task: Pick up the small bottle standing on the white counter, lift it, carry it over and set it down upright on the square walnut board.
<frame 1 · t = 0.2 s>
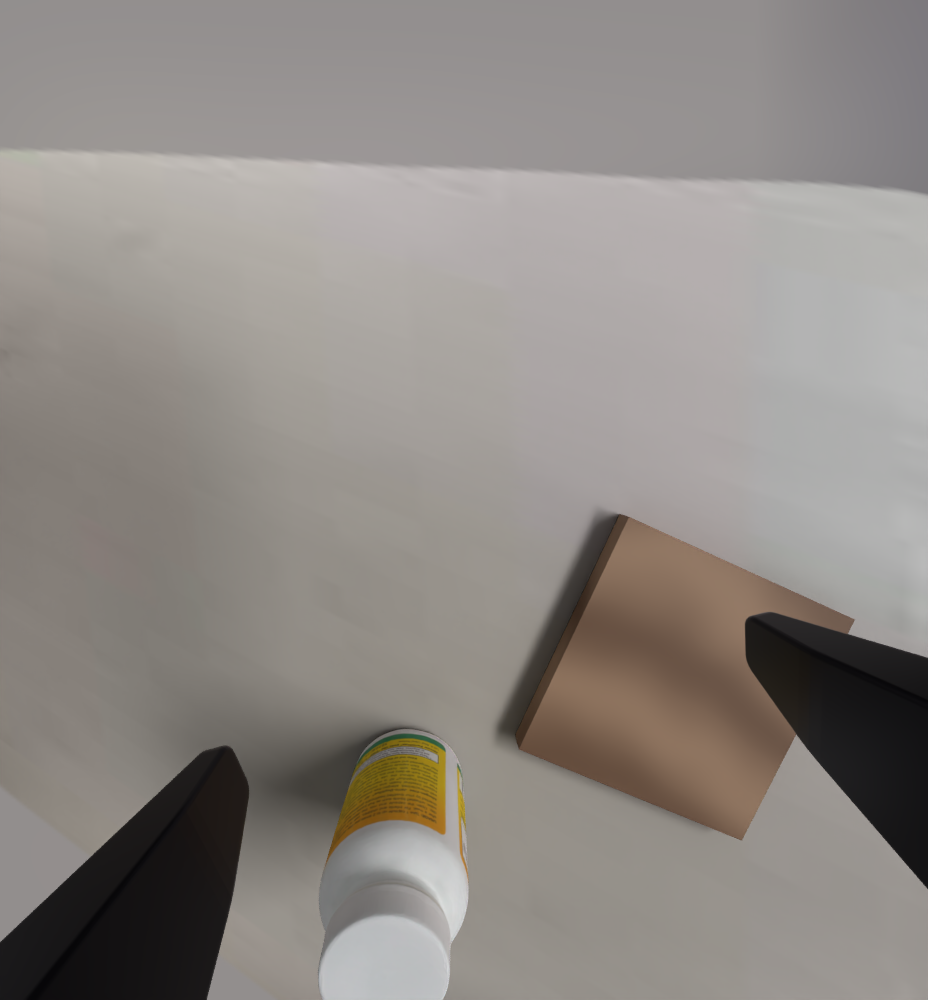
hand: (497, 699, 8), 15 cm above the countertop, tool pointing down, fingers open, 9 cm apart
walnut board: (675, 673, 25), on the countertop
supplement bottle: (408, 773, 25), on the countertop
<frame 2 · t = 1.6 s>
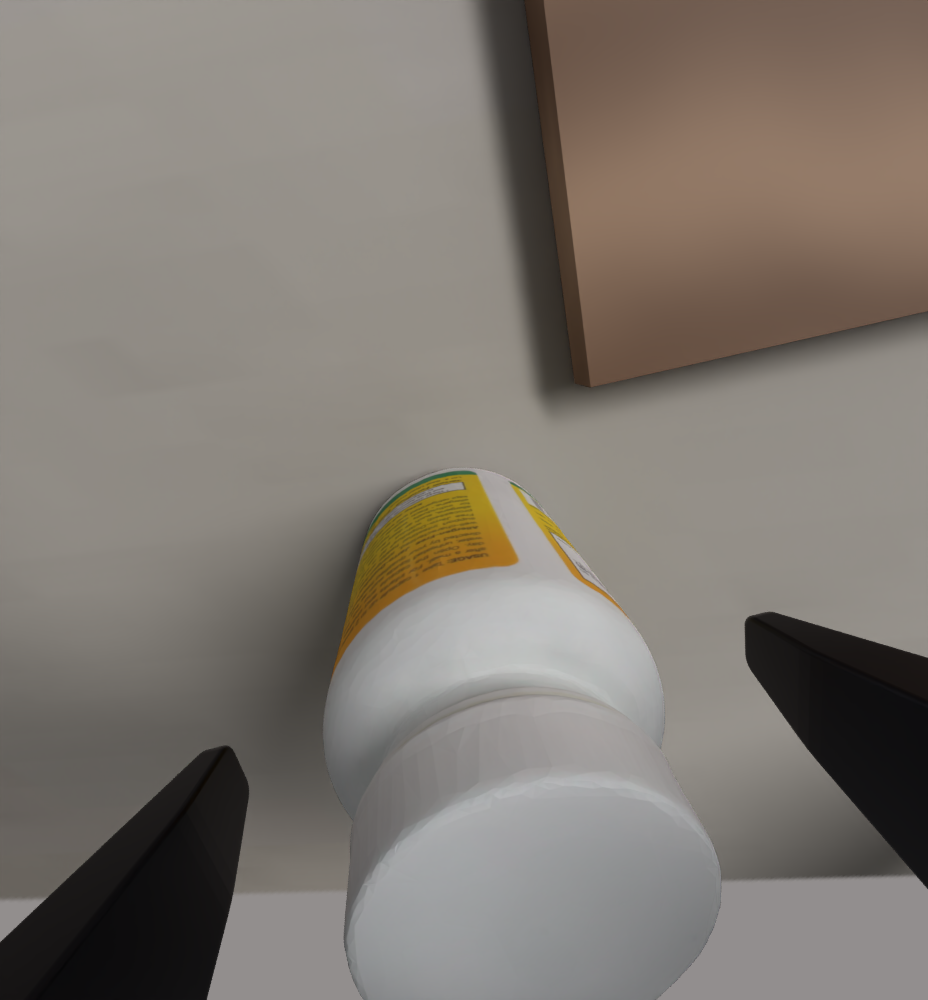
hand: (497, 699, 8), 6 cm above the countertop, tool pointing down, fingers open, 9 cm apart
walnut board: (794, 62, 11), on the countertop
supplement bottle: (456, 551, 14), on the countertop
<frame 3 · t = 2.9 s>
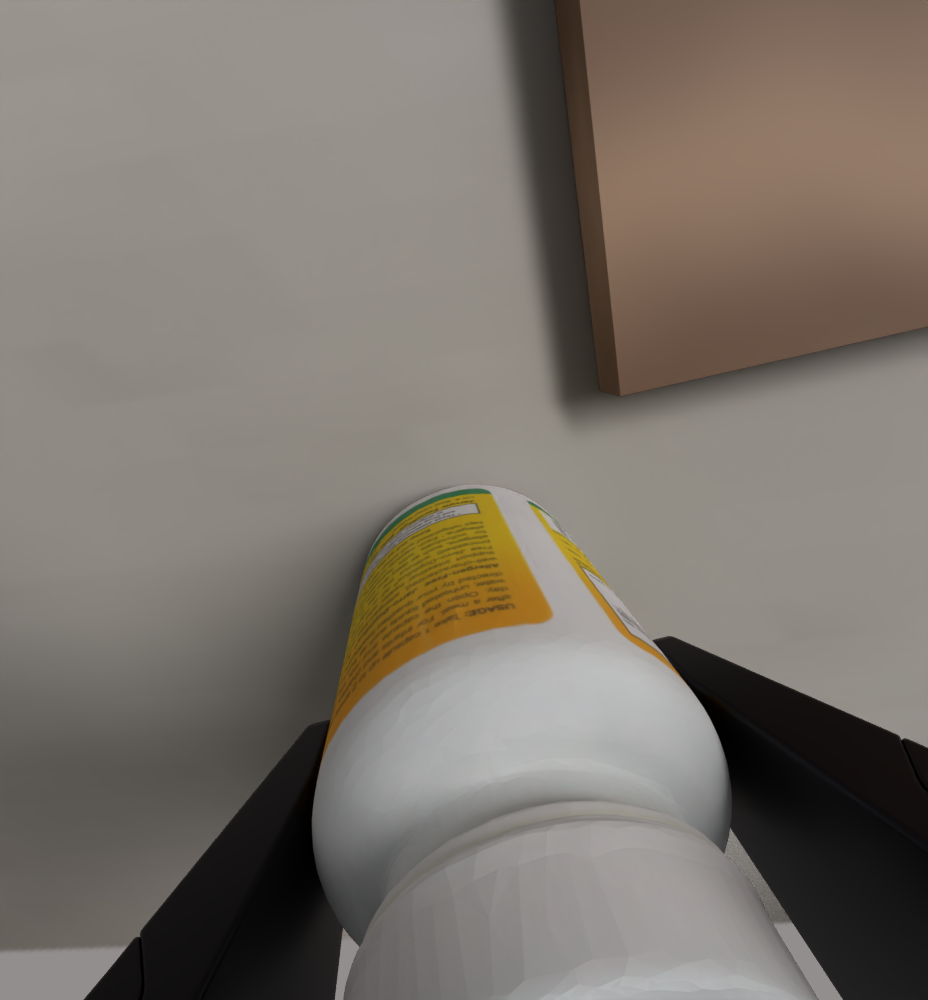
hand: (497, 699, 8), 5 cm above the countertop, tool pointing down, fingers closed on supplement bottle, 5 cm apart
walnut board: (854, 26, 10), on the countertop
supplement bottle: (466, 575, 13), on the countertop, touching gripper
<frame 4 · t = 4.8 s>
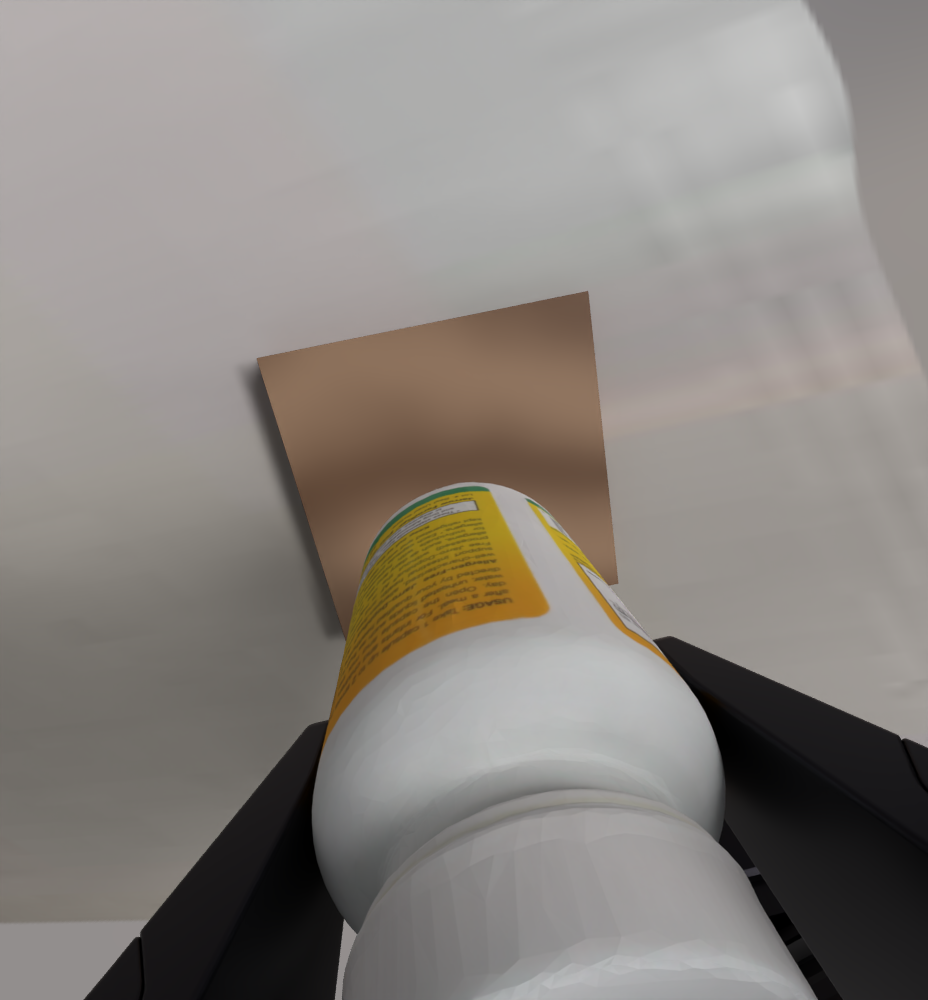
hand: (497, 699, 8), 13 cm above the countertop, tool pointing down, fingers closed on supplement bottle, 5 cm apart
walnut board: (454, 475, 21), on the countertop
supplement bottle: (465, 572, 13), point 8 cm above the countertop, touching gripper
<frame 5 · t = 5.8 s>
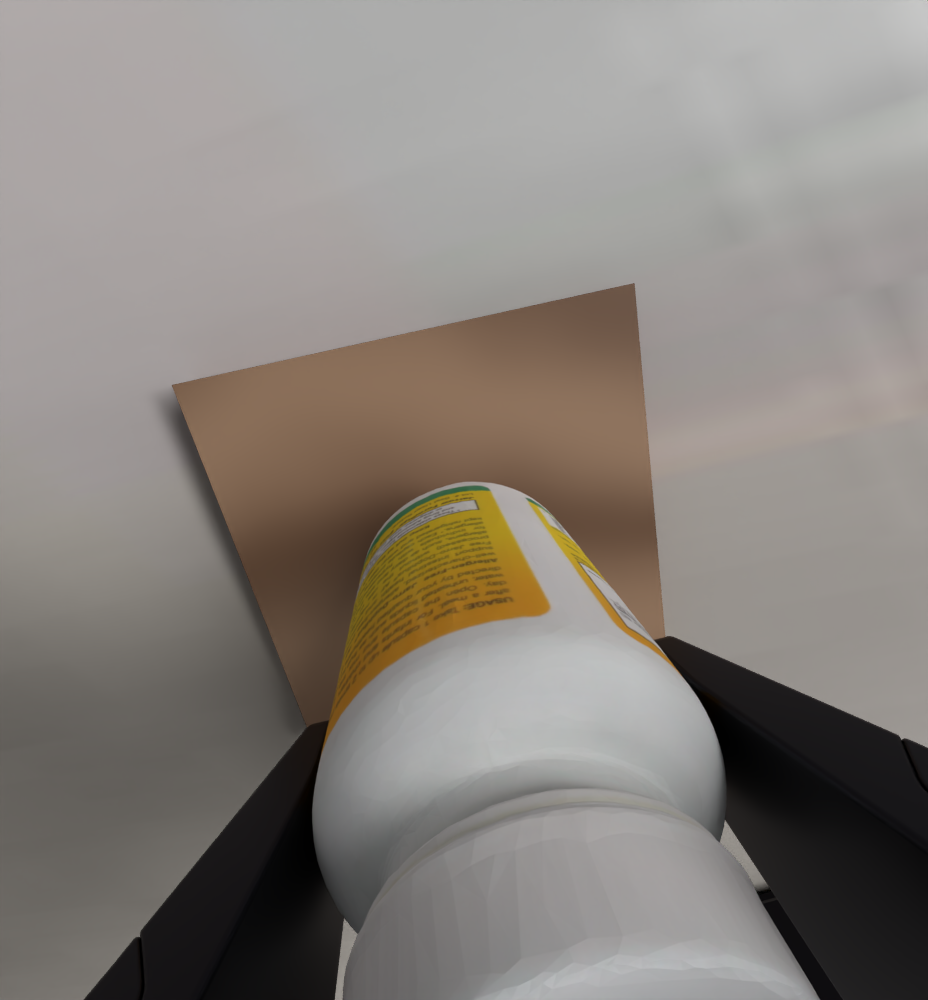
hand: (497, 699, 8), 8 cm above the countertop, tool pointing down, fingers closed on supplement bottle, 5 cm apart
walnut board: (453, 529, 16), on the countertop
supplement bottle: (465, 572, 13), point 3 cm above the countertop, touching gripper
when the fingers open (7 cm above the countertop, at t = 6.7 s): supplement bottle drops 1 cm, resting on walnut board.
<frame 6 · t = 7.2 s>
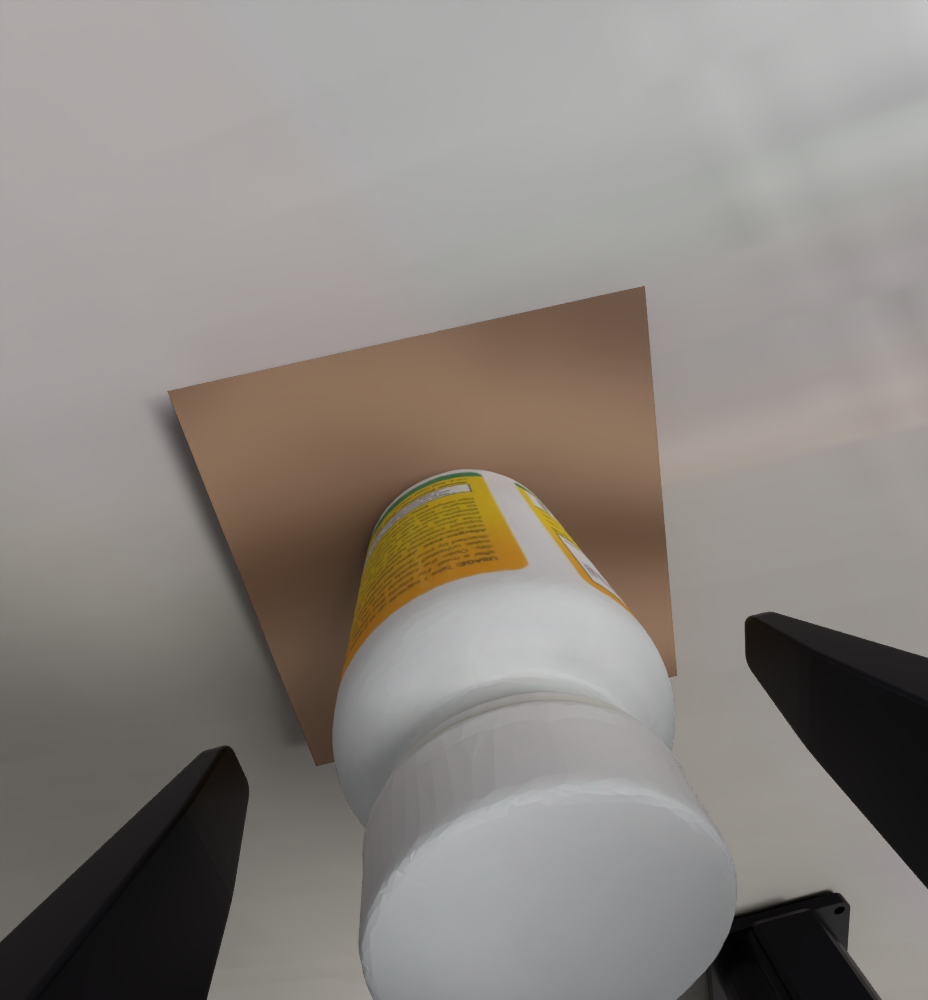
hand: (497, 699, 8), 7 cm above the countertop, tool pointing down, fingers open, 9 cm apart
walnut board: (456, 538, 15), on the countertop
supplement bottle: (461, 552, 14), point 1 cm above the countertop, touching walnut board
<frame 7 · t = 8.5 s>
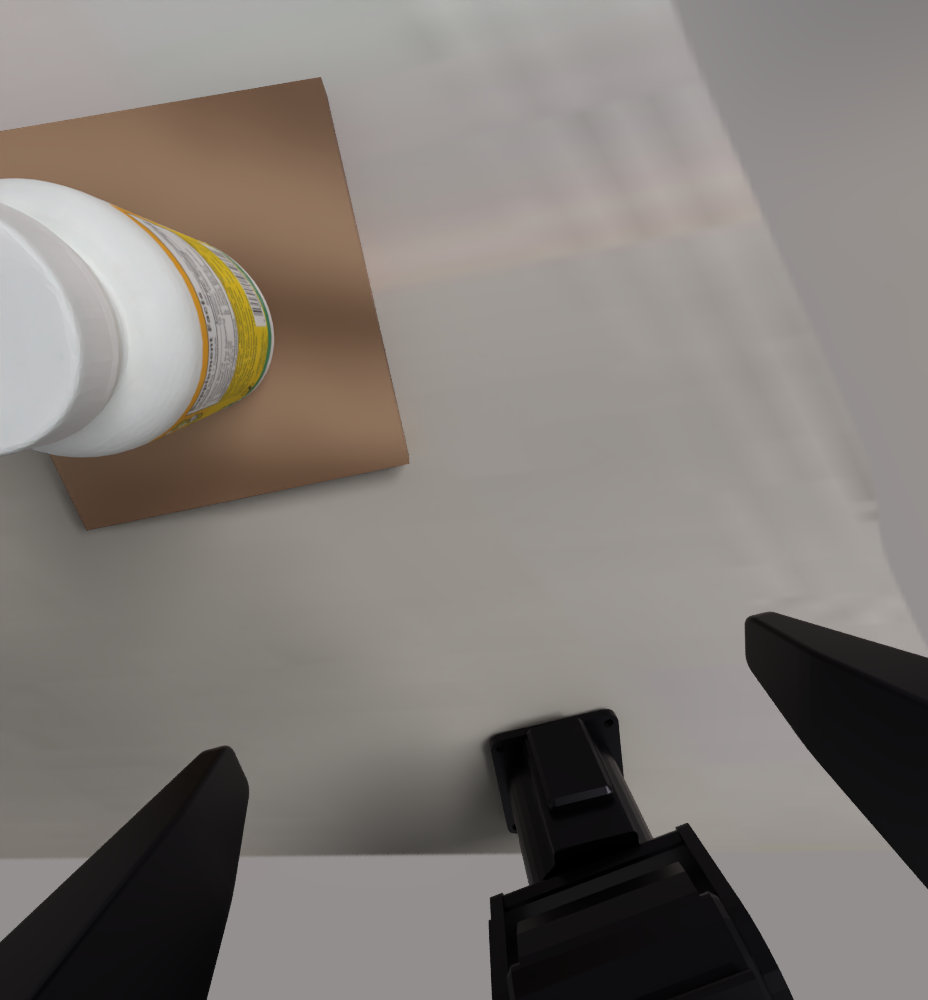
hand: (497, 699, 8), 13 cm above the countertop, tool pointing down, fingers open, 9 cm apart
walnut board: (204, 328, 18), on the countertop
supplement bottle: (194, 328, 17), point 1 cm above the countertop, touching walnut board
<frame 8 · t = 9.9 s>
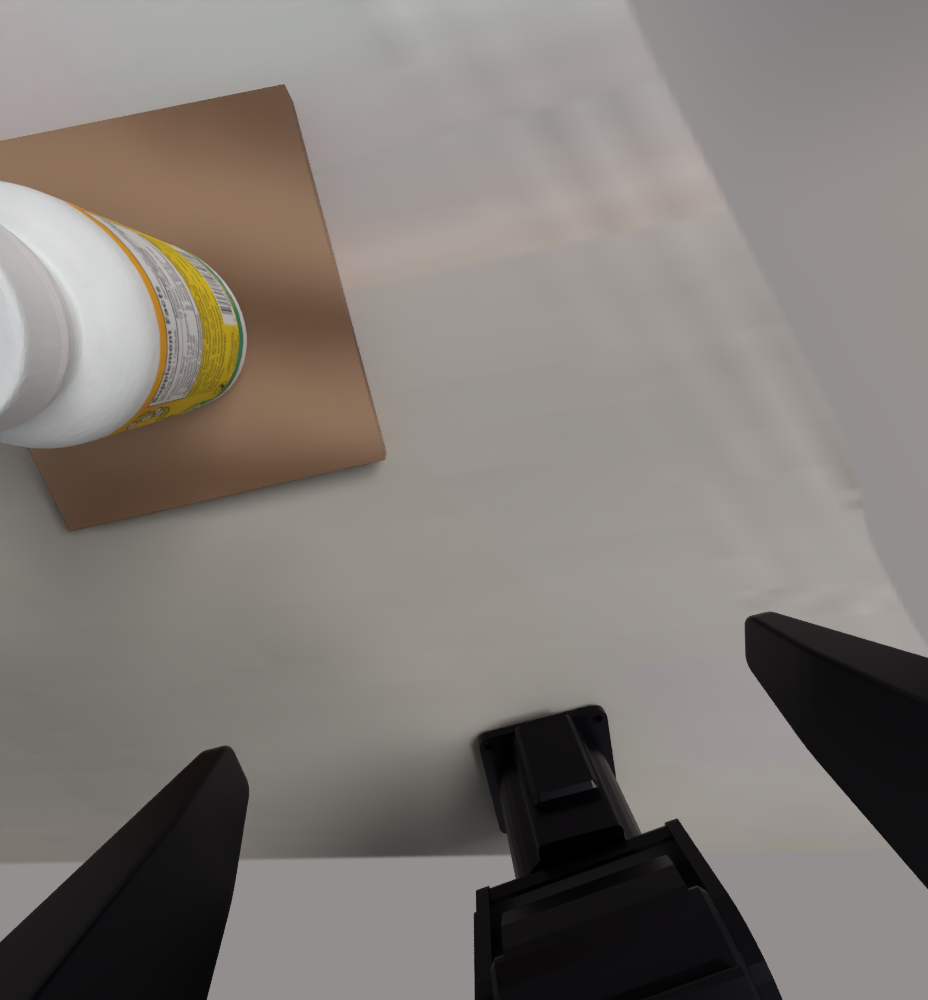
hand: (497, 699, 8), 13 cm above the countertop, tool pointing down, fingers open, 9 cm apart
walnut board: (181, 331, 18), on the countertop
supplement bottle: (170, 331, 17), point 1 cm above the countertop, touching walnut board
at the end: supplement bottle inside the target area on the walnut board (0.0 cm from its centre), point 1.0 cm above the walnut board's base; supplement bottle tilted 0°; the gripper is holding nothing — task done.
